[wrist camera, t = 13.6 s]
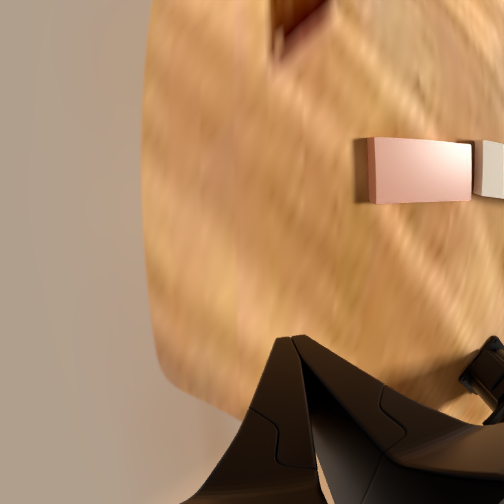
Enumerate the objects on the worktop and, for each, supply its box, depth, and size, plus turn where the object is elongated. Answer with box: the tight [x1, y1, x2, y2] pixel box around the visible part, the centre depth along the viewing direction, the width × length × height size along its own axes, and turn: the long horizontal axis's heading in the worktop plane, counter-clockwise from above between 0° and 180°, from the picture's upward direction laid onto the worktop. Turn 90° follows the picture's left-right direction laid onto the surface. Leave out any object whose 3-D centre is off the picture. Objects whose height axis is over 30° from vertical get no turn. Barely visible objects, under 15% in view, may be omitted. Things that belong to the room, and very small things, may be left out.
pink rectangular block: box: [367, 137, 472, 204], centre depth 20 cm, size 2×4×9 cm
